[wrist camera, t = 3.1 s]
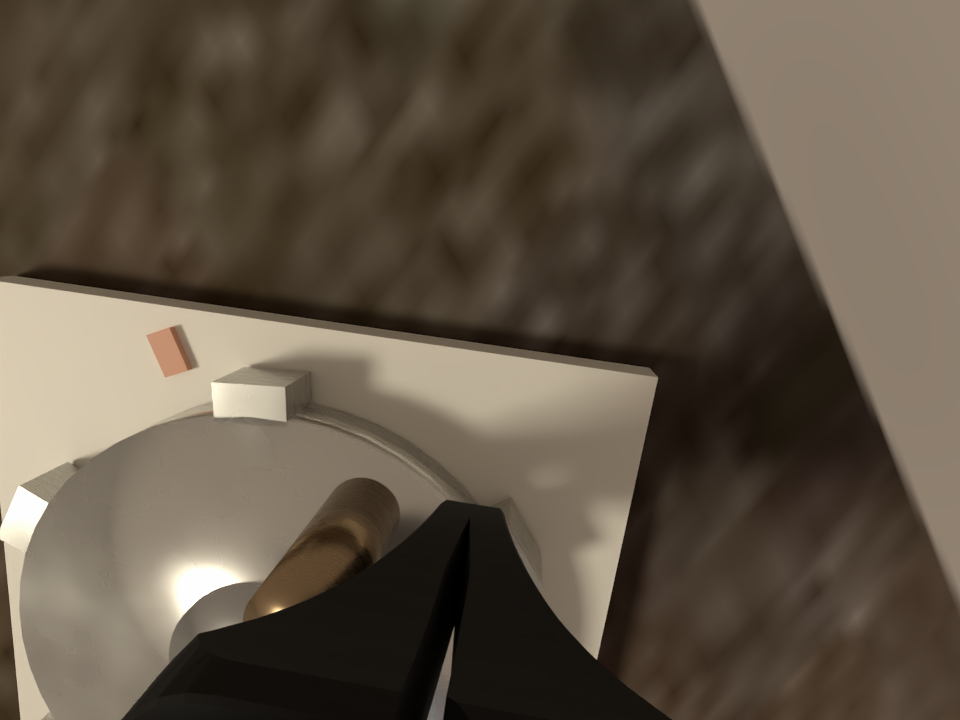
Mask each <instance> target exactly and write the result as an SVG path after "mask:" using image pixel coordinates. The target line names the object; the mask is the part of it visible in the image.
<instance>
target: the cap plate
mask: <svg viewBox="0 0 960 720" xmlns="http://www.w3.org/2000/svg"><path fill="white" fill-rule="evenodd" d="M243 367H251V368H267V369H283V370H298V371H311V400H312V403H315V404H319V405H323V406H326V407H330V408H334V409H338V410H342V411H345V412H348V413H351V414H353V415H356V416H358V417H361V418H363V419H366V420H368V421H371V422H373V423H376V424H378V425H380V426H382V427H384V428H385V429H387V430H389V431H391V432H393V433H395V434H396V435H398V436H400V437H402V438H404V439H406V440H407V441H409V442H410V443H412V444H413V445H415V446H416V447H417V448H419V449H420V450H422V451H423V452H424V453H426V454H427V455H429V456H430V457H431V458H433V459H434V460H436V461H437V462H438V463H439V464H440V465H441V466H442V467H443V468H444V469H446V470H447V471H448V472H449V473H450V474H451V475H452V476H453V477H454V478H455V479H456V480H458V481H459V482H460V483H461V484H462V485H463V487H464V488H465V489H466V490H467V491H468V492H469V494H470V495H471V496H472V497H473V498H474V500H475V501H476V502H477V503H478V504H479V505H483V506H489V507H490V506H492V505H495V504H497V503H499V502H502V501H504V500H506V499H508V498H511V497H512V499H513V501H514V503H515V505H516V507H517V508H518V510H519V512H520V514H521V516H522V518H523V519H524V521H525V523H526V525H527V527H528V529H529V531H530V532H531V534H532V536H533V538H534V540H535V542H536V543H537V545H538V547H539V549H540V551H541V556H542V580H543V588H541V589H538V590H539V592H540V593H541V595H542V596H543V598H544V599H545V601H546V602H547V604H548V605H549V607H550V608H551V609H552V611H553V612H554V613H555V615H556V616H557V617H558V619H559V620H560V621H561V622H562V624H563V625H564V626H565V627H566V628H567V629H568V631H569V632H570V633H571V634H572V635H573V636H574V637H575V638H576V639H577V640H578V641H579V642H580V644H581V645H582V646H583V647H584V648H585V649H586V650H587V651H588V652H589V653H590V654H591V655H592V656H593V657H594V658H595V659H596V660H597V658H598V653H599V648H600V644H601V639H602V634H603V630H604V625H605V621H606V616H607V611H608V607H609V602H610V598H611V593H612V588H613V584H614V579H615V574H616V570H617V565H618V561H619V556H620V551H621V547H622V542H623V538H624V533H625V528H626V524H627V519H628V514H629V510H630V505H631V501H632V496H633V491H634V487H635V482H636V477H637V473H638V468H639V464H640V459H641V454H642V450H643V445H644V441H645V436H646V431H647V427H648V422H649V417H650V413H651V408H652V404H653V399H654V394H655V390H656V385H657V381H658V377H657V376H656V375H655V373H654V372H653V371H652V370H651V369H650V368H647V367H640V366H633V365H627V364H620V363H613V362H606V361H599V360H592V359H585V358H578V357H571V356H564V355H558V354H551V353H544V352H537V351H530V350H523V349H516V348H509V347H502V346H495V345H489V344H482V343H475V342H468V341H461V340H454V339H447V338H440V337H433V336H426V335H420V334H413V333H406V332H399V331H392V330H385V329H378V328H371V327H364V326H357V325H351V324H344V323H337V322H330V321H323V320H316V319H309V318H302V317H295V316H288V315H282V314H275V313H268V312H261V311H254V310H247V309H240V308H233V307H226V306H219V305H213V304H206V303H199V302H192V301H185V300H178V299H171V298H164V297H157V296H150V295H143V294H137V293H130V292H123V291H116V290H109V289H102V288H95V287H88V286H81V285H74V284H68V283H61V282H54V281H47V280H40V279H33V278H26V277H19V276H5V277H0V504H1V515H2V524H3V521H4V519H5V517H6V515H7V512H8V510H9V508H10V505H11V503H12V501H13V498H14V496H15V494H16V491H17V489H18V487H19V485H21V484H24V483H26V482H28V481H30V480H32V479H34V478H36V477H38V476H40V475H42V474H44V473H46V472H48V471H50V470H52V469H54V468H56V467H58V466H60V465H62V464H64V463H66V462H69V463H71V464H73V465H74V466H76V467H78V468H79V469H80V468H81V467H82V466H83V465H84V464H86V463H87V462H88V461H89V460H90V459H92V458H93V457H95V456H97V455H98V454H100V453H101V452H103V451H104V450H106V449H107V448H109V447H111V446H112V445H114V444H115V443H117V442H119V441H121V440H123V439H125V438H127V437H129V436H131V435H133V434H135V433H137V432H139V431H141V430H143V429H145V428H147V427H149V426H151V425H153V424H155V423H157V422H159V421H162V420H164V419H166V418H168V417H171V416H173V415H175V414H177V413H180V412H182V411H184V410H188V409H192V408H195V407H199V406H202V405H206V404H210V403H213V399H212V386H211V382H213V381H215V380H217V379H219V378H221V377H224V376H226V375H228V374H230V373H232V372H234V371H237V370H239V369H241V368H243ZM4 547H5V558H6V568H7V579H8V590H9V600H10V611H11V621H12V632H13V643H14V653H15V664H16V675H17V685H18V696H19V707H20V717H21V720H42V719H43V718H44V717H45V716H46V715H47V714H48V713H49V712H50V711H49V709H48V707H47V705H46V703H45V701H44V699H43V698H42V696H41V694H40V692H39V689H38V687H37V684H36V681H35V679H34V676H33V674H32V671H31V669H30V666H29V662H28V658H27V655H26V651H25V647H24V643H23V639H22V631H21V622H20V613H19V599H20V580H21V574H22V569H23V564H24V558H25V553H23V552H21V551H20V550H18V549H16V548H14V547H13V546H11V545H9V544H8V543H6V542H4Z"/></svg>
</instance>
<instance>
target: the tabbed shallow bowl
mask: <svg viewBox="0 0 960 720" xmlns="http://www.w3.org/2000/svg"><path fill="white" fill-rule="evenodd" d="M211 386H212V399H213V403H210V404H206V405H202V406H199V407H195V408H192V409H188V410H184V411H182V412H180V413H177V414H175V415H173V416H171V417H168V418H166V419H164V420H162V421H159V422H157V423H155V424H153V425H151V426H149V427H147V428H145V429H143V430H141V431H139V432H137V433H135V434H133V435H131V436H129V437H127V438H125V439H123V440H121V441H119V442H117V443H115V444H114V445H112V446H111V447H109V448H107V449H106V450H104V451H103V452H101V453H100V454H98V455H97V456H95V457H93V458H92V459H90V460H89V461H88V462H87V463H86V464H84V465H83V466H82V467H81V468H80V469H79V468H78V467H76V466H74V465H73V464H71V463H69V462H66V463H64V464H62V465H60V466H58V467H56V468H54V469H52V470H50V471H48V472H46V473H44V474H42V475H40V476H38V477H36V478H34V479H32V480H30V481H28V482H26V483H24V484H21V485H19V487H18V489H17V491H16V494H15V496H14V498H13V501H12V503H11V505H10V508H9V510H8V512H7V515H6V517H5V519H4V521H3V524H2V526H1V528H0V539H1V540H3V541H4V542H6V543H8V544H9V545H11V546H13V547H14V548H16V549H18V550H20V551H21V552H23V553H25V558H24V564H23V569H22V574H21V580H20V599H19V613H20V622H21V631H22V639H23V643H24V647H25V651H26V655H27V658H28V662H29V666H30V669H31V671H32V674H33V676H34V679H35V681H36V684H37V687H38V689H39V692H40V694H41V696H42V698H43V699H44V701H45V703H46V705H47V707H48V709H49V711H50V712H49V713H48V714H47V715H46V716H45V717H44V718H43V719H42V720H121V719H122V718H123V717H124V716H125V715H126V714H127V712H128V711H129V710H130V709H131V708H132V706H133V705H134V704H135V703H136V702H137V700H138V699H139V698H140V697H141V696H142V694H143V693H144V692H145V691H146V690H147V688H148V687H149V686H150V685H151V684H152V682H153V681H154V680H155V679H156V678H157V676H158V675H159V674H160V673H161V672H162V671H163V670H164V669H165V667H166V666H167V665H168V664H169V663H170V662H171V661H172V660H173V658H174V657H175V656H176V655H178V654H179V653H180V652H181V651H182V650H183V649H184V648H185V647H186V646H187V645H188V644H189V643H190V642H191V641H192V640H193V639H194V637H195V636H196V635H197V634H199V633H203V632H207V631H212V630H215V629H219V628H223V627H227V626H230V625H234V624H238V623H241V622H245V621H249V620H253V619H256V618H259V617H262V616H265V615H268V614H271V613H274V612H277V611H280V610H282V609H285V608H288V607H291V606H293V605H296V604H298V603H301V602H303V601H306V600H308V599H310V598H312V597H315V596H317V595H319V594H321V593H323V592H325V591H327V590H329V589H331V588H333V587H335V586H337V585H339V584H341V583H343V582H345V581H347V580H349V579H351V578H352V577H354V576H356V575H357V574H359V573H361V572H362V571H364V570H365V569H367V568H368V567H370V566H371V565H373V564H374V563H375V562H377V561H378V560H380V559H381V558H382V557H383V556H385V555H386V554H387V553H389V552H390V551H391V550H392V549H394V548H395V547H396V546H398V545H399V544H400V543H401V542H402V541H404V540H405V539H406V538H407V537H408V536H409V535H410V534H411V533H412V532H414V531H415V530H416V529H417V528H418V527H419V526H420V525H421V524H422V523H423V522H424V521H425V520H426V519H427V518H428V517H429V516H430V515H431V514H432V513H433V512H434V511H435V510H436V509H437V507H438V506H439V505H440V504H441V503H442V502H444V501H445V500H452V501H458V502H464V503H470V504H477V505H479V504H478V503H477V502H476V501H475V500H474V498H473V497H472V496H471V495H470V494H469V492H468V491H467V490H466V489H465V488H464V487H463V485H462V484H461V483H460V482H459V481H458V480H456V479H455V478H454V477H453V476H452V475H451V474H450V473H449V472H448V471H447V470H446V469H444V468H443V467H442V466H441V465H440V464H439V463H438V462H437V461H436V460H434V459H433V458H431V457H430V456H429V455H427V454H426V453H424V452H423V451H422V450H420V449H419V448H417V447H416V446H415V445H413V444H412V443H410V442H409V441H407V440H406V439H404V438H402V437H400V436H398V435H396V434H395V433H393V432H391V431H389V430H387V429H385V428H384V427H382V426H380V425H378V424H376V423H373V422H371V421H368V420H366V419H363V418H361V417H358V416H356V415H353V414H351V413H348V412H345V411H342V410H338V409H334V408H330V407H326V406H323V405H319V404H315V403H312V400H311V371H298V370H283V369H267V368H251V367H243V368H241V369H239V370H237V371H234V372H232V373H230V374H228V375H226V376H224V377H221V378H219V379H217V380H215V381H213V382H211ZM490 507H495V508H500V509H501V510H502V511H503V513H504V514H505V519H506V523H507V526H508V529H509V532H510V535H511V537H512V540H513V542H514V544H515V547H516V549H517V551H518V553H519V555H520V557H521V559H522V561H523V563H524V565H525V567H526V569H527V571H528V573H529V575H530V577H531V578H532V580H533V582H534V583H535V585H536V587H537V588H538V589H541V588H543V580H542V556H541V551H540V549H539V547H538V545H537V543H536V542H535V540H534V538H533V536H532V534H531V532H530V531H529V529H528V527H527V525H526V523H525V521H524V519H523V518H522V516H521V514H520V512H519V510H518V508H517V507H516V505H515V503H514V501H513V499H512V497H511V498H508V499H506V500H504V501H502V502H499V503H497V504H495V505H492V506H490ZM453 638H454V629H453V632H452V636H451V639H450V643H449V646H448V650H447V653H446V657H445V660H444V663H443V667H442V670H441V674H440V677H439V681H438V684H437V687H436V691H435V694H434V698H433V701H432V705H431V708H430V711H429V715H428V718H427V720H443V716H444V709H445V702H446V695H447V691H448V686H449V681H450V676H451V665H452V651H453Z"/></svg>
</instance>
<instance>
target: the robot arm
mask: <svg viewBox="0 0 960 720" xmlns="http://www.w3.org/2000/svg"><path fill="white" fill-rule="evenodd" d="M453 629H454V638H453V651H452V665H451V676H450V681H449V686H448V691H447V695H446V702H445V709H444V716H443V720H671V719H670V718H669V717H667V716H666V715H665V714H663V713H662V712H661V711H659V710H658V709H657V708H655V707H654V706H652V705H651V704H650V703H648V702H647V701H646V700H644V699H643V698H642V697H640V696H639V695H638V694H636V693H635V692H634V691H632V690H631V689H630V688H628V687H627V686H626V685H625V684H623V683H622V682H621V681H620V680H619V679H618V678H616V677H615V676H614V675H613V674H612V673H611V672H610V671H609V670H607V669H606V668H605V667H604V666H603V665H602V664H601V663H599V662H598V661H597V660H596V659H595V658H594V657H593V656H592V655H591V654H590V653H589V652H588V651H587V650H586V649H585V648H584V647H583V646H582V645H581V644H580V642H579V641H578V640H577V639H576V638H575V637H574V636H573V635H572V634H571V633H570V632H569V631H568V629H567V628H566V627H565V626H564V625H563V624H562V622H561V621H560V620H559V619H558V617H557V616H556V615H555V613H554V612H553V611H552V609H551V608H550V607H549V605H548V604H547V602H546V601H545V599H544V598H543V596H542V595H541V593H540V592H539V590H538V588H537V587H536V585H535V583H534V582H533V580H532V578H531V577H530V575H529V573H528V571H527V569H526V567H525V565H524V563H523V561H522V559H521V557H520V555H519V553H518V551H517V549H516V547H515V544H514V542H513V540H512V537H511V535H510V532H509V529H508V526H507V523H506V519H505V514H504V513H503V511H502V510H501V509H500V508H495V507H489V506H483V505H477V504H470V503H464V502H458V501H452V500H445V501H444V502H442V503H441V504H440V505H439V506H438V507H437V509H436V510H435V511H434V512H433V513H432V514H431V515H430V516H429V517H428V518H427V519H426V520H425V521H424V522H423V523H422V524H421V525H420V526H419V527H418V528H417V529H416V530H415V531H414V532H412V533H411V534H410V535H409V536H408V537H407V538H406V539H405V540H404V541H402V542H401V543H400V544H399V545H398V546H396V547H395V548H394V549H392V550H391V551H390V552H389V553H387V554H386V555H385V556H383V557H382V558H381V559H380V560H378V561H377V562H375V563H374V564H373V565H371V566H370V567H368V568H367V569H365V570H364V571H362V572H361V573H359V574H357V575H356V576H354V577H352V578H351V579H349V580H347V581H345V582H343V583H341V584H339V585H337V586H335V587H333V588H331V589H329V590H327V591H325V592H323V593H321V594H319V595H317V596H315V597H312V598H310V599H308V600H306V601H303V602H301V603H298V604H296V605H293V606H291V607H288V608H285V609H282V610H280V611H277V612H274V613H271V614H268V615H265V616H262V617H259V618H256V619H253V620H249V621H245V622H241V623H238V624H234V625H230V626H227V627H223V628H219V629H215V630H212V631H207V632H203V633H199V634H197V635H196V636H195V637H194V639H193V640H192V641H191V642H190V643H189V644H188V645H187V646H186V647H185V648H184V649H183V650H182V651H181V652H180V653H179V654H178V655H176V656H175V657H174V658H173V660H172V661H171V662H170V663H169V664H168V665H167V666H166V667H165V669H164V670H163V671H162V672H161V673H160V674H159V675H158V676H157V678H156V679H155V680H154V681H153V682H152V684H151V685H150V686H149V687H148V688H147V690H146V691H145V692H144V693H143V694H142V696H141V697H140V698H139V699H138V700H137V702H136V703H135V704H134V705H133V706H132V708H131V709H130V710H129V711H128V712H127V714H126V715H125V716H124V717H123V718H122V719H121V720H427V718H428V715H429V711H430V708H431V705H432V701H433V698H434V694H435V691H436V687H437V684H438V681H439V677H440V674H441V670H442V667H443V663H444V660H445V657H446V653H447V650H448V646H449V643H450V639H451V636H452V632H453Z"/></svg>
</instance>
